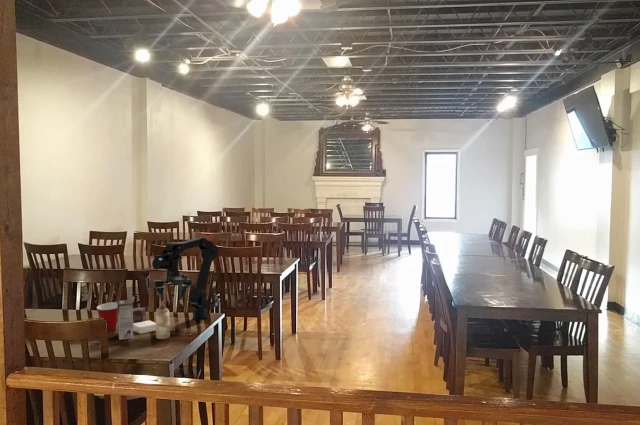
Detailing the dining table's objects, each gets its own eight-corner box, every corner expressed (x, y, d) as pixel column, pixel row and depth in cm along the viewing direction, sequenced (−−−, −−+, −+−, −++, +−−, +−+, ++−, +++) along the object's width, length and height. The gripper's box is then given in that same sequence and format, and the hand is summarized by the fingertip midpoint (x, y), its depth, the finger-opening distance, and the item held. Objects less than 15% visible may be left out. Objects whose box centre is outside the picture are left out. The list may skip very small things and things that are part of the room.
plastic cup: (92, 331, 252) (91, 306, 252) (108, 325, 263) (107, 301, 262) (110, 333, 249) (109, 308, 248) (126, 327, 259) (125, 303, 258)
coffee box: (117, 334, 247) (116, 300, 246) (132, 333, 249) (131, 299, 248) (118, 340, 238) (117, 304, 237) (133, 338, 241) (132, 303, 240)
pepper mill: (166, 334, 247) (165, 302, 246) (172, 337, 242) (171, 305, 241) (154, 337, 242) (153, 305, 242) (159, 339, 238) (159, 307, 237)
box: (146, 321, 270) (146, 307, 269) (142, 324, 264) (142, 310, 263) (134, 321, 269) (133, 307, 269) (130, 325, 263) (130, 310, 263)
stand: (149, 326, 260) (149, 320, 260) (158, 330, 254) (157, 323, 254) (131, 329, 254) (131, 323, 254) (139, 333, 248) (139, 327, 248)
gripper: (160, 270, 246) (159, 304, 245) (197, 269, 257) (196, 301, 257) (151, 268, 254) (150, 301, 254) (187, 267, 266) (186, 298, 266)
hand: (171, 300), depth 258 cm, fingers open, 9 cm apart
